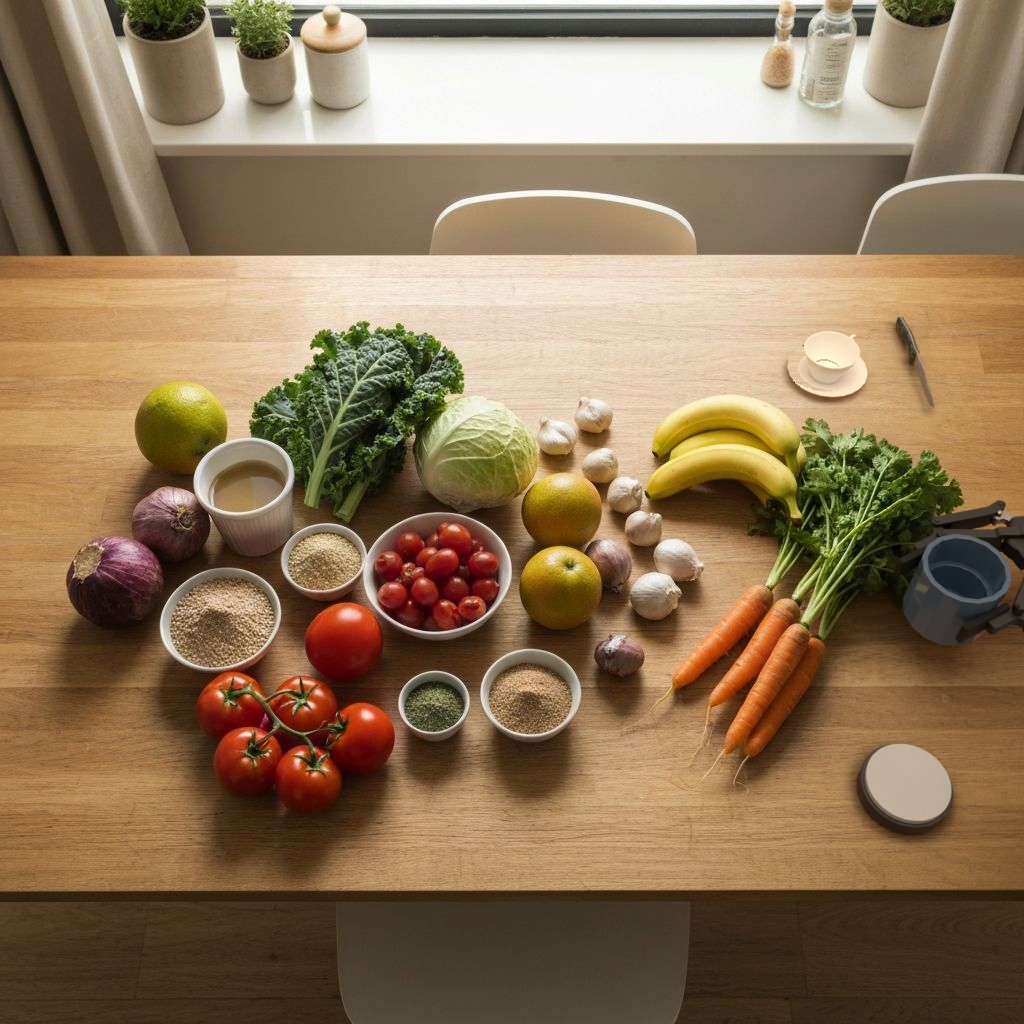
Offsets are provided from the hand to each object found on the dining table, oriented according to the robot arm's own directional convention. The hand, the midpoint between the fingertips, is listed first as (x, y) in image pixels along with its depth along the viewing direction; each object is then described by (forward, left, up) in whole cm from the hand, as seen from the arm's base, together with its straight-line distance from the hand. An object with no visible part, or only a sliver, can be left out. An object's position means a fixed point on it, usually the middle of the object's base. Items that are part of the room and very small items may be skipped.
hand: (928, 600), depth 123 cm
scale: (-6, +17, -12) cm, 22 cm away
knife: (+16, -50, -12) cm, 54 cm away
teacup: (+27, -42, -12) cm, 51 cm away
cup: (-2, -4, -6) cm, 7 cm away
